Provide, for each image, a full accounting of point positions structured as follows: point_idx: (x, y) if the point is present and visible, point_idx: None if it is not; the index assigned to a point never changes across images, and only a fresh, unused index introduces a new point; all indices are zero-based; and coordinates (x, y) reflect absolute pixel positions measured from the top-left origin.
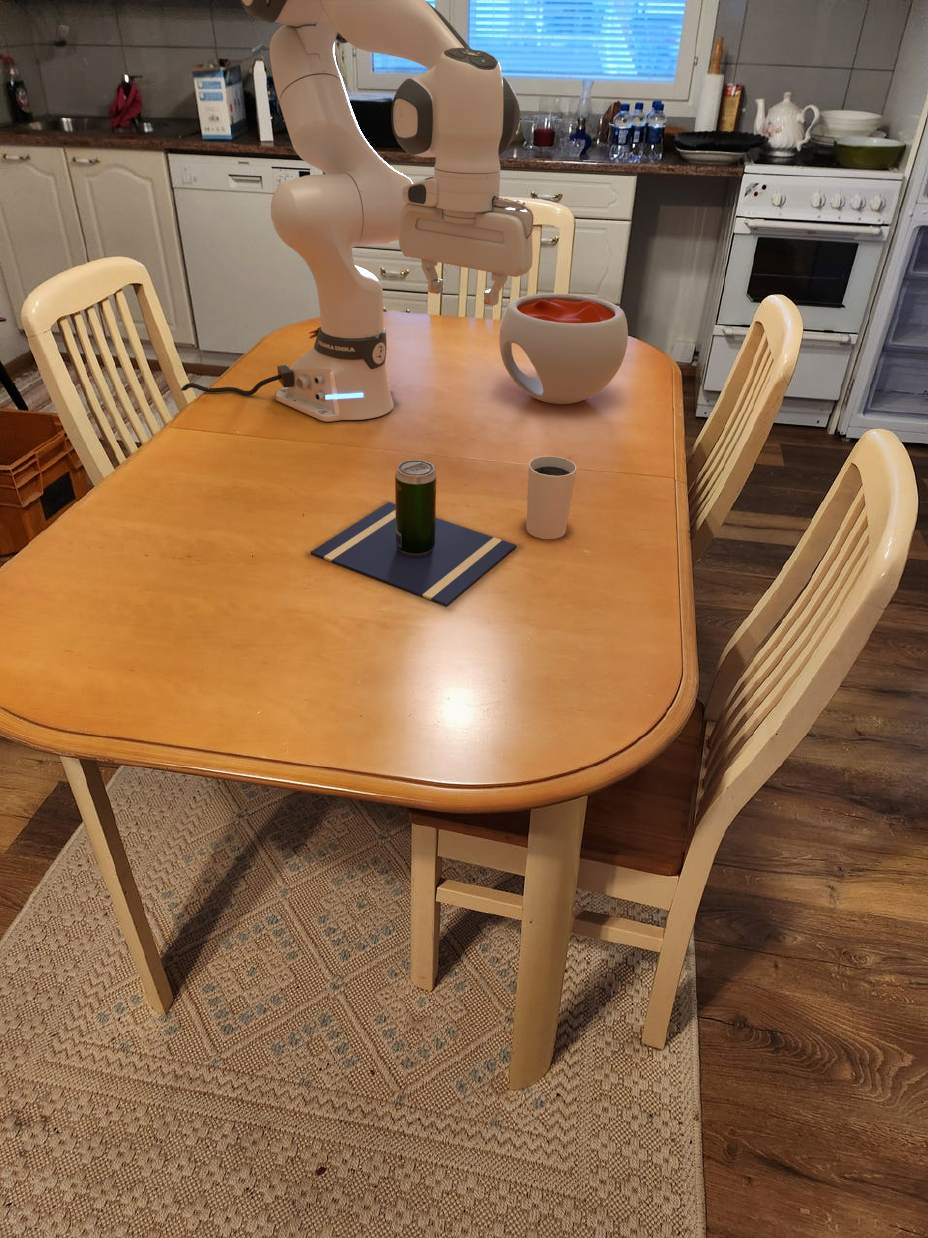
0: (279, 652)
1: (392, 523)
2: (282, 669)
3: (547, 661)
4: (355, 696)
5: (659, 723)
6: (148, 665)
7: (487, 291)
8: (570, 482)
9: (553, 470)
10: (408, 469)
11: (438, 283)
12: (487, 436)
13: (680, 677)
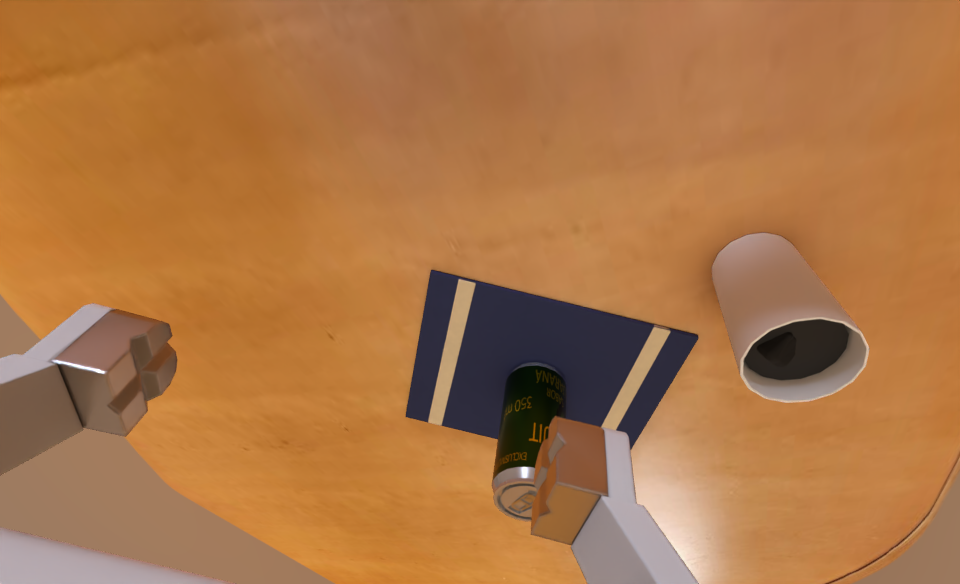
0: (479, 534)
1: (472, 332)
2: (494, 547)
3: (755, 515)
4: (571, 562)
5: (876, 561)
6: (389, 554)
7: (553, 529)
8: (840, 365)
9: (800, 324)
10: (516, 503)
11: (132, 410)
12: None
13: (925, 516)
